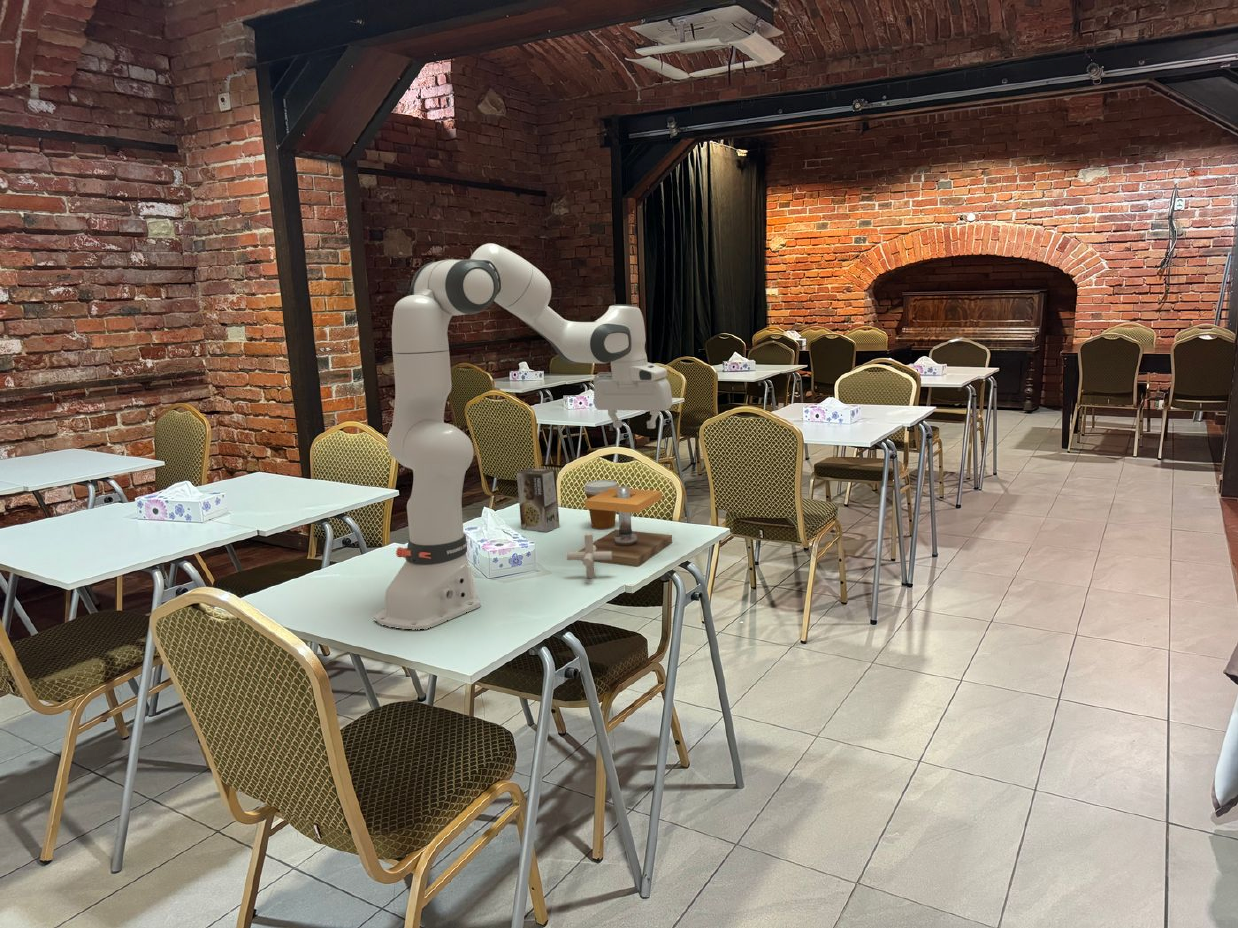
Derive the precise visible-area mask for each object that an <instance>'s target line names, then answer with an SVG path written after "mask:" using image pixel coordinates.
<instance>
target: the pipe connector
mask: <svg viewBox="0 0 1238 928" xmlns="http://www.w3.org/2000/svg"><path fill="white" fill-rule="evenodd" d="M583 537H584V548H585V552H578V551H568V552H566V560H567V561H582V565H584V566H585V569H586V578H587V579H593V578H595V577H596V576H595V561H594V560H606V559H612V551H608V552H596V549H597V548H596V546H595V545H593V542H594V540H593V539H594V536H593V533H590V532H585V533H584V536H583Z"/></svg>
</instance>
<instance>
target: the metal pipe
mask: <svg viewBox="0 0 1238 928" xmlns="http://www.w3.org/2000/svg"><path fill="white" fill-rule="evenodd" d="M630 489H631V488H630V486H626V485H625V486H619V487H618V488H617V492H618V498H626V499H628V498H630ZM617 512H618V530H619V534H618V535H615V536H614V541H615V545H617V546H633V545H636V544H637V535H636V534H632V531H633V529H632V513H630V512H619V511H617Z"/></svg>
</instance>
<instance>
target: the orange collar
mask: <svg viewBox="0 0 1238 928" xmlns="http://www.w3.org/2000/svg"><path fill="white" fill-rule="evenodd" d="M661 500H663V491H662V490H654V489H653V490H651V489H649V490H648V489H636V488H630V498H628V499H626V498H618V492H617V488H610V489H607V490H605V491H603V492H601V493H599V494H597V495H595V496H593V497H591V498H589V499H587V498H586V499H585V500H584V508H585V509H586V510H589V509H596V510H607V511H616V512H618V511H619V512H630V513H631V514H632V513H633V514H638V513H641V512H642V511H644V510H645V509H647V508H649V507H651V506H653V505H654V504H656V503H658V502H660V501H661Z"/></svg>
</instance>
